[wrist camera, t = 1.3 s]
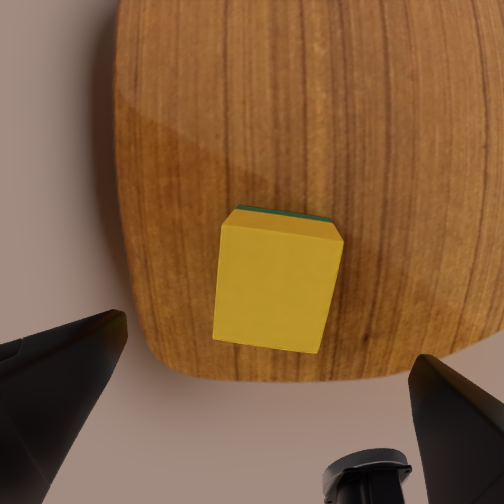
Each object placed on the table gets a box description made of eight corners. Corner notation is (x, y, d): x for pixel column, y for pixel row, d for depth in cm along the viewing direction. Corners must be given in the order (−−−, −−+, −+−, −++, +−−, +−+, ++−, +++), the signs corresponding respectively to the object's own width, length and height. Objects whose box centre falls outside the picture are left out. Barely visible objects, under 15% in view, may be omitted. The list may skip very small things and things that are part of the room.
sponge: (312, 310, 17) (317, 354, 13) (227, 298, 17) (212, 339, 13) (330, 217, 15) (344, 241, 11) (237, 204, 16) (221, 223, 12)
